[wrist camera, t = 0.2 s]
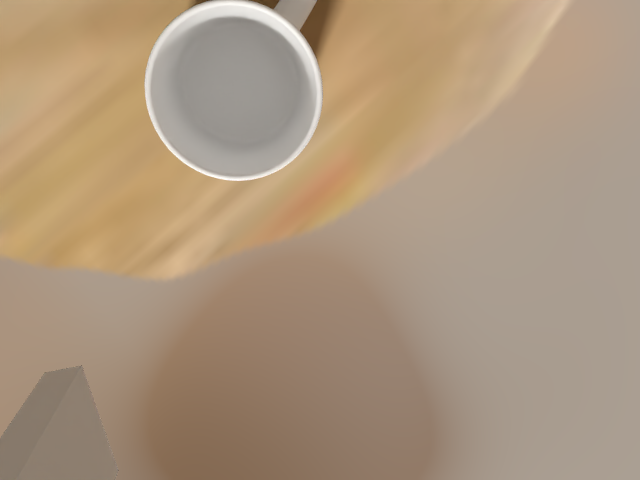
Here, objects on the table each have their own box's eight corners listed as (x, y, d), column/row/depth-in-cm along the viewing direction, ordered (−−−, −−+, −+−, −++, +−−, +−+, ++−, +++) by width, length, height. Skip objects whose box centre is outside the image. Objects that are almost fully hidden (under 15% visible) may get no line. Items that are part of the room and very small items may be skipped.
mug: (258, -68, 32) (261, -123, 22) (364, 23, 34) (407, 9, 25) (149, 97, 34) (109, 112, 25) (255, 172, 37) (256, 213, 27)
